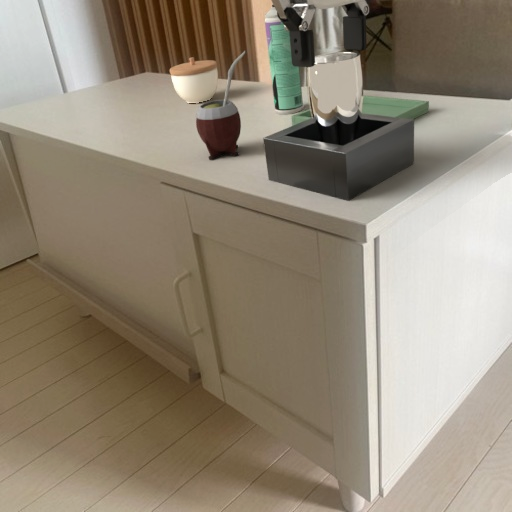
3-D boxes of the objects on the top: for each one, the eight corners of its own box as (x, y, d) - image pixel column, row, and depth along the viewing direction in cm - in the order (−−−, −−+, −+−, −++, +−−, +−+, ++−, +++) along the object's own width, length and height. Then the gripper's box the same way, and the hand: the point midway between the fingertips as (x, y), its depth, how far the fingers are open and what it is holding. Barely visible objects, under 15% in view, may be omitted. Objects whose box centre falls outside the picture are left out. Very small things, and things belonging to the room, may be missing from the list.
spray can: (305, 105, 107) (295, -6, 98) (300, 113, 103) (289, -3, 93) (278, 107, 109) (265, -2, 99) (272, 115, 104) (259, 2, 94)
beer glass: (331, 185, 70) (323, 65, 63) (305, 171, 75) (295, 59, 68) (376, 171, 72) (373, 54, 65) (348, 158, 78) (342, 49, 70)
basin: (414, 163, 73) (414, 119, 70) (348, 200, 65) (345, 153, 62) (333, 148, 82) (331, 109, 79) (268, 179, 75) (262, 137, 72)
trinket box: (179, 109, 119) (170, 65, 114) (174, 99, 128) (165, 58, 124) (226, 100, 120) (219, 56, 116) (218, 91, 130) (211, 50, 125)
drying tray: (428, 111, 92) (429, 101, 91) (373, 138, 84) (373, 127, 83) (347, 103, 104) (347, 93, 103) (292, 126, 96) (291, 116, 95)
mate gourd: (193, 158, 88) (174, 62, 80) (227, 142, 92) (212, 51, 85) (225, 163, 83) (208, 62, 76) (259, 147, 88) (246, 50, 80)
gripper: (291, -112, 51) (305, 75, 59) (398, -117, 60) (397, 44, 69) (239, -99, 56) (258, 71, 64) (345, -105, 65) (350, 43, 74)
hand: (330, 57), depth 66 cm, fingers open, 9 cm apart
